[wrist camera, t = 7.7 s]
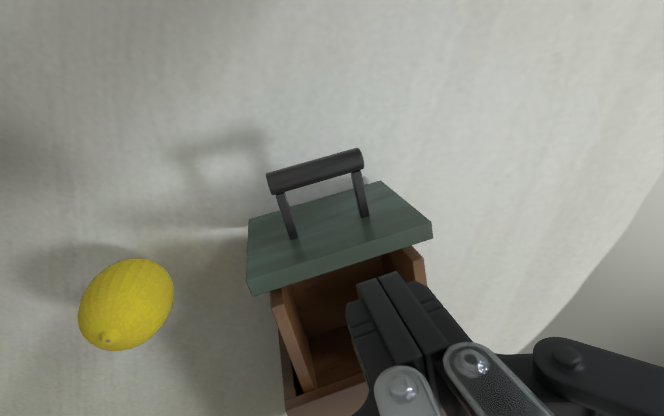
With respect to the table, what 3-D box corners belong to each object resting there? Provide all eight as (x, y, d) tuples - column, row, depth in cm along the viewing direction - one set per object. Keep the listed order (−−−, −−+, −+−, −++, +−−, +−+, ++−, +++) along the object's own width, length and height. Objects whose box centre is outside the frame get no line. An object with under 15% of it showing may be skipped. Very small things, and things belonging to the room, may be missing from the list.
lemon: (194, 284, 29) (174, 354, 21) (131, 308, 28) (89, 388, 21) (162, 231, 26) (127, 289, 19) (93, 256, 26) (31, 326, 19)
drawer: (228, 164, 25) (215, 206, 17) (371, 125, 26) (423, 146, 18) (293, 341, 32) (306, 428, 24) (402, 303, 33) (449, 375, 25)
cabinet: (275, 308, 31) (285, 411, 22) (399, 267, 33) (459, 347, 23) (313, 407, 37) (334, 522, 28) (416, 369, 39) (470, 466, 29)
